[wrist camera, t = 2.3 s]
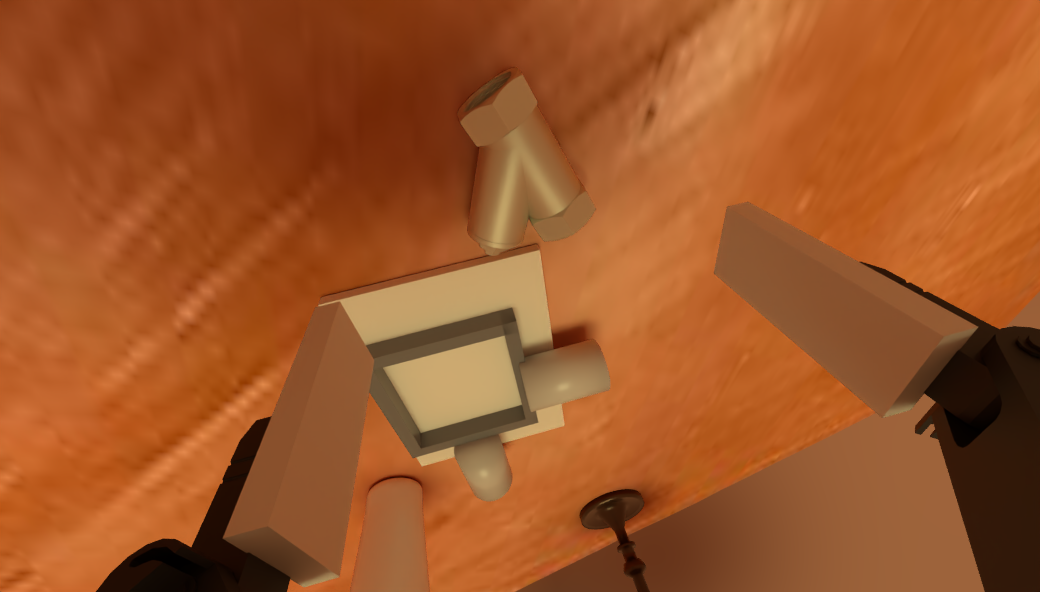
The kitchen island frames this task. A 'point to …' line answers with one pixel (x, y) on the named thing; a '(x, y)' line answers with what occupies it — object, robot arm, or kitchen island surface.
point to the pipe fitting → (518, 169)
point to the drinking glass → (392, 540)
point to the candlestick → (618, 527)
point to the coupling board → (470, 361)
